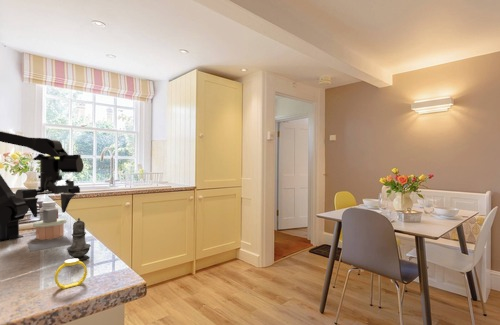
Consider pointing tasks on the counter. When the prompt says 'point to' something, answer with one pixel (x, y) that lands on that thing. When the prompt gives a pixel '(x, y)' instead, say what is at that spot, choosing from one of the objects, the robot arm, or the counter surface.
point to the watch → (69, 263)
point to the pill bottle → (48, 206)
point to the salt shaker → (79, 242)
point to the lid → (49, 219)
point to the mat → (49, 244)
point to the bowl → (49, 232)
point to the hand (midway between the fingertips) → (50, 214)
